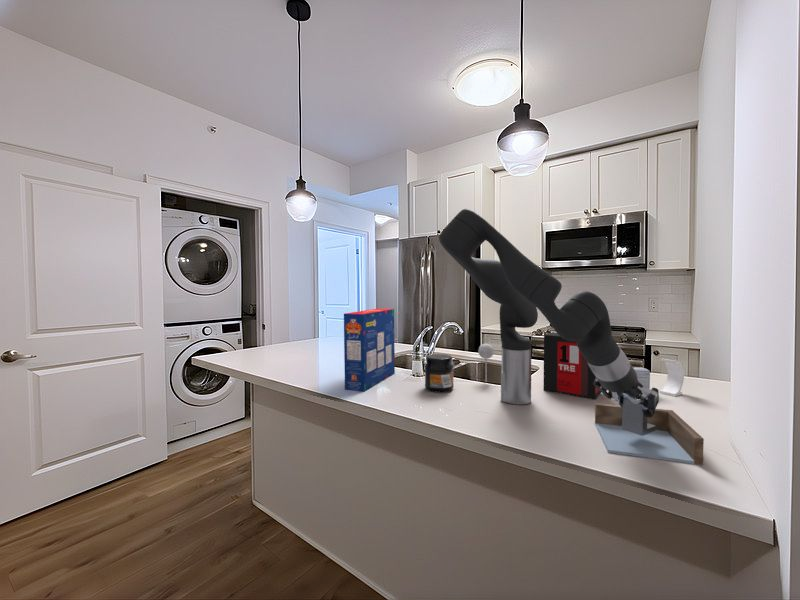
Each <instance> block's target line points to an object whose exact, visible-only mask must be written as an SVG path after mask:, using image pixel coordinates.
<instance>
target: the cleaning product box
mask: <svg viewBox="0 0 800 600" xmlns="http://www.w3.org/2000/svg"><path fill="white" fill-rule="evenodd" d="M595 379H596V376H595V375H594V373H593V372H592V370H591V369H590V367H589V365H588V363H587V361H586V359H585V358H584V356H583V355H582V353H581V352H580V350H579V349H578V347H577V342H572V341H568V340H565V339H564V338H562V337H561V336H560V335H559V334H558V333H557V332H556V331H555V332H554V331H553V332H548V333H546V334H543V391H544V392H548V393H554V394H559V395H565V396H572V397H575V398H576V397H577V398H583V399H588V400H594V401H595V400H597V399H598V397H599V396H600V395H601V394H602V393H601V392H600V391H599V390H598V389H597V388H596V387H595V386H594V385H593V383H594V381H595Z"/></svg>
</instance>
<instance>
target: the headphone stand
mask: <svg viewBox="0 0 800 600" xmlns="http://www.w3.org/2000/svg"><path fill="white" fill-rule="evenodd" d="M659 360H660V362H664V364H665V366H666V370H667V376H666V382H665V384H664V386H663V387H662V389H660V390H659V394H662V395H667V396H671V397H677V396H680V395H682V394H683V391H682V388H683V385H684V380H685V371H684V367H683V365H682V363H681V361H679V360H674V359H667V358H660V359H659Z"/></svg>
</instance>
